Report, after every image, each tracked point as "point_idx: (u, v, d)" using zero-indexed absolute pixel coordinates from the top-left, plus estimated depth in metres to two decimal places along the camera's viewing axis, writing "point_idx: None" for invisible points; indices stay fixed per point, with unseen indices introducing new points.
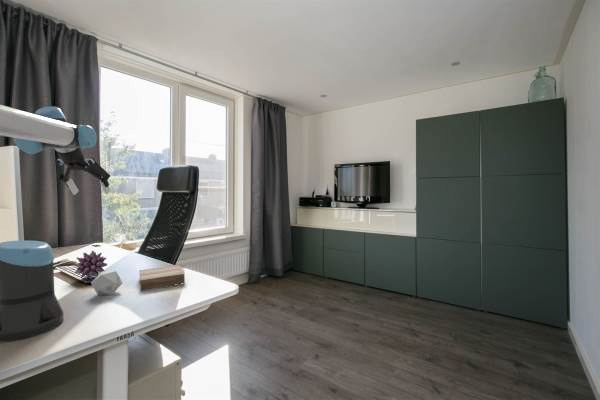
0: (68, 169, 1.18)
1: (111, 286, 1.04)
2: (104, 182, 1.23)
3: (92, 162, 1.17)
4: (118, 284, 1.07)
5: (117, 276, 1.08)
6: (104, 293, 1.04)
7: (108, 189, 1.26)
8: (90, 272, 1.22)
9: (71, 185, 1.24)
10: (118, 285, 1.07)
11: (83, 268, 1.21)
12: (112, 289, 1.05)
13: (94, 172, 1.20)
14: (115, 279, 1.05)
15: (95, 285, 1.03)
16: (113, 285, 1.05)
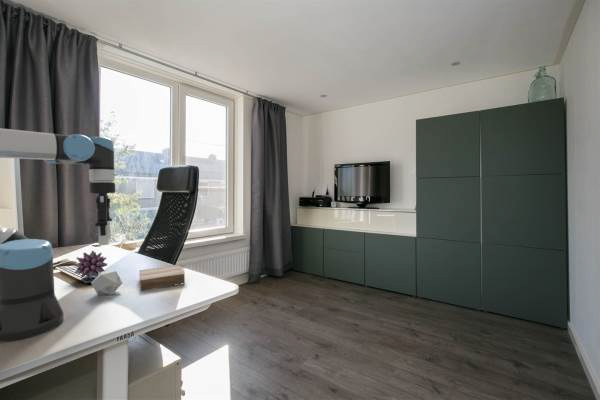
0: None
1: (111, 286, 1.04)
2: (100, 228, 0.99)
3: (99, 199, 0.99)
4: (118, 284, 1.07)
5: (117, 276, 1.08)
6: (104, 293, 1.04)
7: (104, 241, 1.00)
8: (90, 272, 1.22)
9: None
10: (118, 285, 1.07)
11: (83, 268, 1.21)
12: (112, 289, 1.05)
13: None
14: (115, 279, 1.05)
15: (95, 285, 1.03)
16: (113, 285, 1.05)
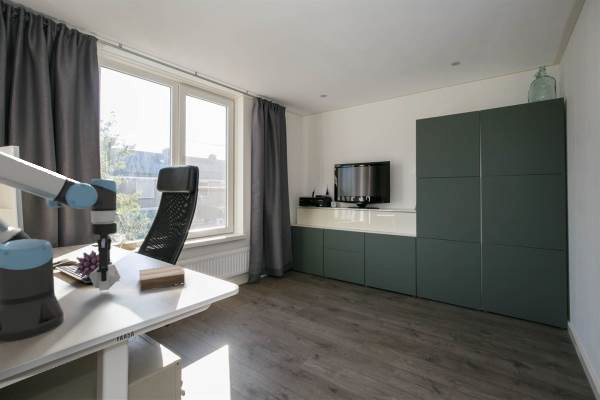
0: None
1: None
2: (101, 274, 1.01)
3: (101, 245, 1.00)
4: (116, 278, 1.06)
5: (115, 270, 1.07)
6: None
7: (105, 286, 1.02)
8: (90, 272, 1.22)
9: None
10: (116, 279, 1.07)
11: (83, 268, 1.21)
12: (109, 283, 1.04)
13: None
14: (112, 273, 1.05)
15: (93, 278, 1.03)
16: (110, 279, 1.04)
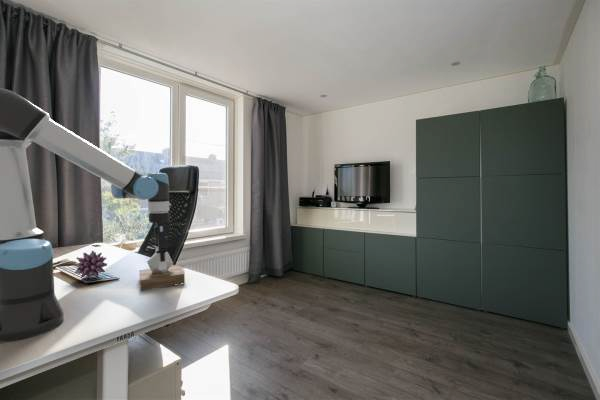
0: None
1: None
2: (160, 255, 1.12)
3: (159, 229, 1.12)
4: (170, 263, 1.19)
5: (169, 256, 1.20)
6: (158, 271, 1.17)
7: (163, 266, 1.13)
8: (90, 272, 1.22)
9: None
10: (170, 264, 1.19)
11: (83, 268, 1.21)
12: None
13: None
14: (167, 259, 1.18)
15: (151, 264, 1.15)
16: (166, 264, 1.17)
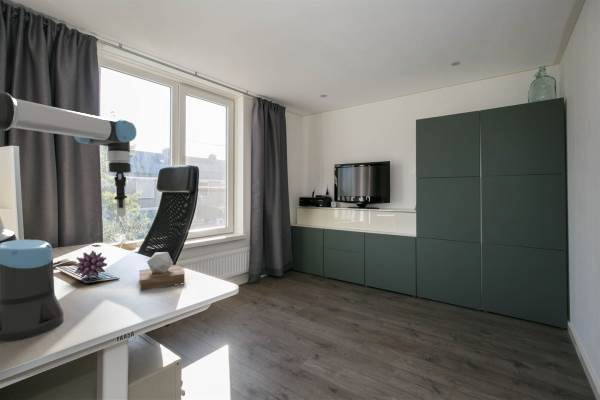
0: None
1: (165, 265, 1.16)
2: (118, 201, 1.14)
3: (118, 176, 1.14)
4: (170, 263, 1.19)
5: (169, 256, 1.20)
6: (158, 271, 1.17)
7: (122, 212, 1.15)
8: (90, 272, 1.22)
9: None
10: (170, 264, 1.19)
11: (83, 268, 1.21)
12: (165, 268, 1.17)
13: None
14: (167, 259, 1.18)
15: (151, 264, 1.15)
16: (166, 264, 1.17)
